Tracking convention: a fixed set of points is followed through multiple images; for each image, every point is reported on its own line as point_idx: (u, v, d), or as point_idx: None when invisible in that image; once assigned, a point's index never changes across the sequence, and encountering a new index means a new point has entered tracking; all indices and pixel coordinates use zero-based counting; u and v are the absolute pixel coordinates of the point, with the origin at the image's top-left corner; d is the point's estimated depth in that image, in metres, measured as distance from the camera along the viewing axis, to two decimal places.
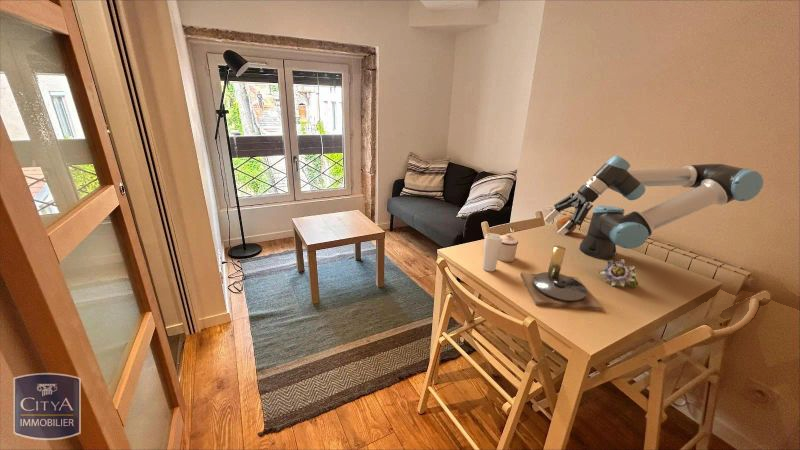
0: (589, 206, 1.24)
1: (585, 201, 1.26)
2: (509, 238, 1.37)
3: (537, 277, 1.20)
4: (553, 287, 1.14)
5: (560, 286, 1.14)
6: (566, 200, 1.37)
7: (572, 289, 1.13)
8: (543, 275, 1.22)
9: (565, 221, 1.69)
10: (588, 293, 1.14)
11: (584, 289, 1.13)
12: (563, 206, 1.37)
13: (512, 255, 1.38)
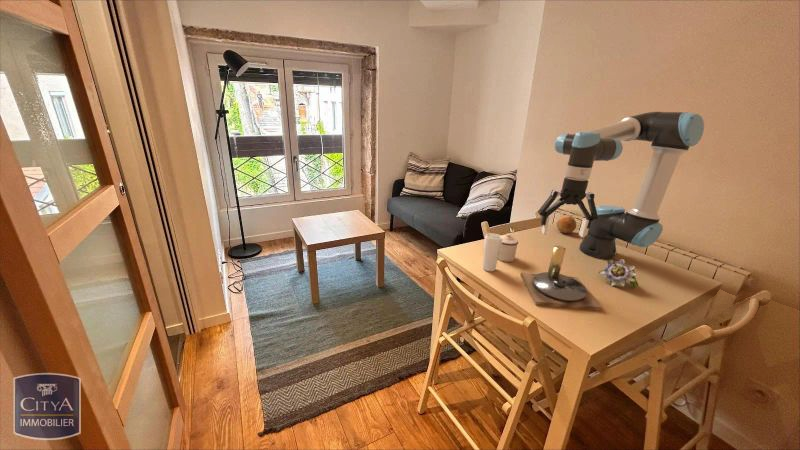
0: None
1: (585, 194, 1.09)
2: (509, 238, 1.37)
3: (537, 277, 1.20)
4: (553, 287, 1.14)
5: (560, 286, 1.14)
6: None
7: (572, 289, 1.13)
8: (543, 275, 1.22)
9: (565, 221, 1.69)
10: (588, 293, 1.14)
11: (584, 289, 1.13)
12: None
13: (512, 255, 1.38)
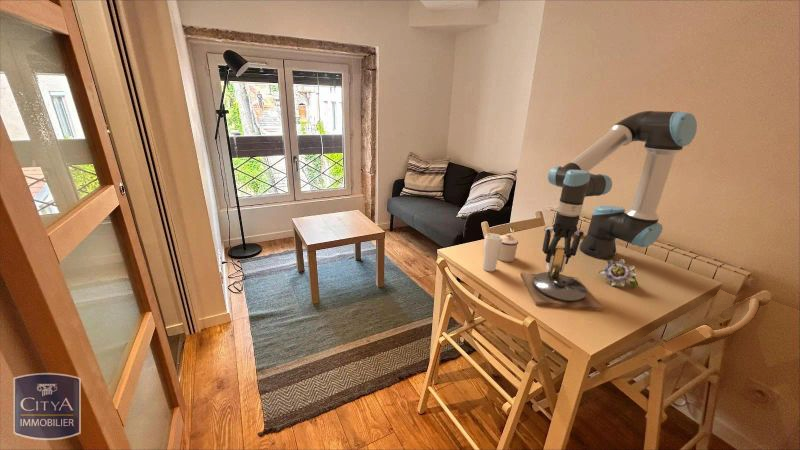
0: None
1: (577, 229, 1.14)
2: (509, 238, 1.37)
3: (537, 277, 1.20)
4: (553, 287, 1.14)
5: (560, 286, 1.14)
6: None
7: (572, 289, 1.13)
8: (543, 275, 1.22)
9: None
10: (588, 293, 1.14)
11: (584, 289, 1.13)
12: None
13: (512, 255, 1.38)
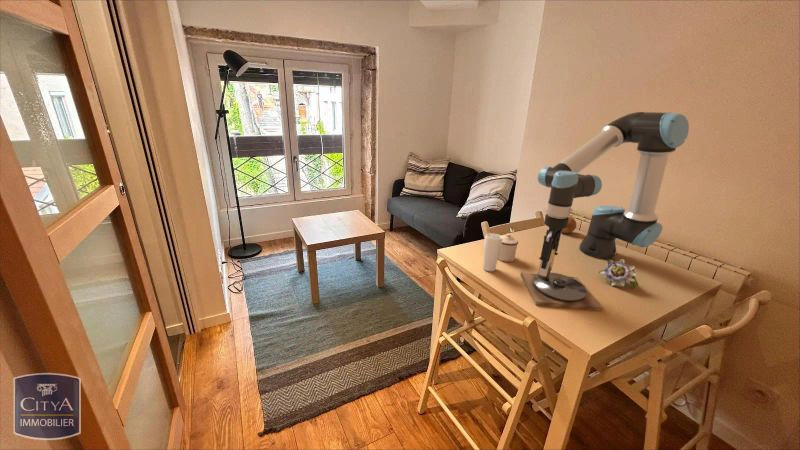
0: None
1: None
2: (509, 238, 1.37)
3: (538, 284, 1.15)
4: (561, 290, 1.12)
5: (564, 286, 1.14)
6: None
7: (571, 285, 1.16)
8: (538, 280, 1.18)
9: None
10: (588, 293, 1.14)
11: (575, 280, 1.19)
12: None
13: (512, 255, 1.38)
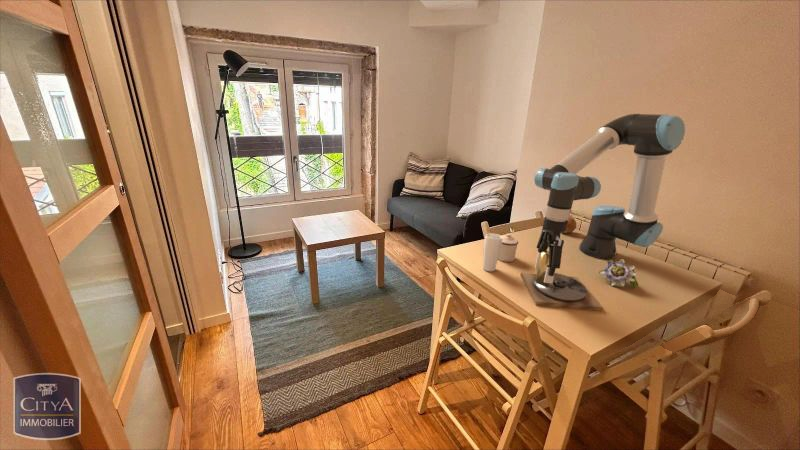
0: None
1: None
2: (509, 238, 1.37)
3: (551, 292, 1.11)
4: (568, 289, 1.13)
5: (566, 284, 1.15)
6: None
7: (564, 280, 1.19)
8: (544, 287, 1.14)
9: None
10: (588, 293, 1.14)
11: (559, 274, 1.23)
12: None
13: (512, 255, 1.38)
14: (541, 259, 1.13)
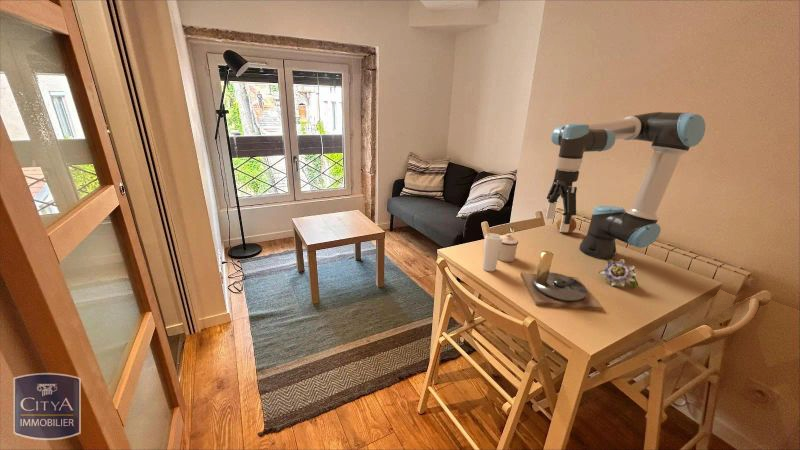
0: None
1: None
2: (509, 238, 1.37)
3: (551, 292, 1.11)
4: (568, 289, 1.13)
5: (566, 284, 1.15)
6: None
7: (564, 280, 1.19)
8: (544, 287, 1.14)
9: None
10: (588, 293, 1.14)
11: (559, 274, 1.23)
12: None
13: (512, 255, 1.38)
14: (541, 259, 1.13)
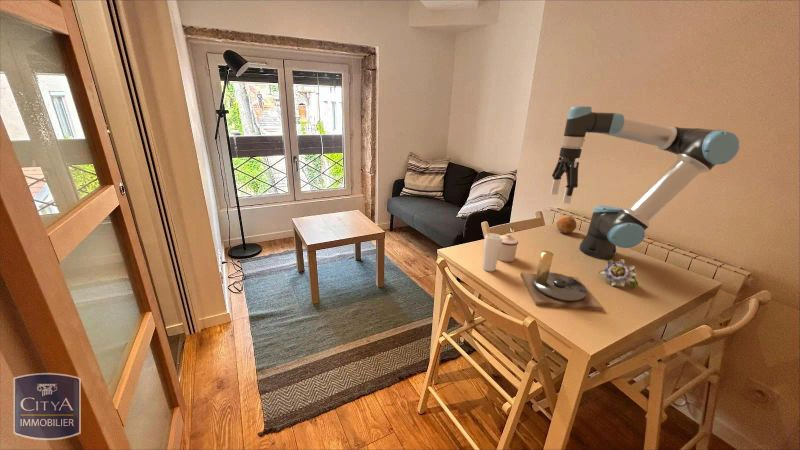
0: None
1: None
2: (509, 238, 1.37)
3: (551, 292, 1.11)
4: (568, 289, 1.13)
5: (566, 284, 1.15)
6: None
7: (564, 280, 1.19)
8: (544, 287, 1.14)
9: (565, 221, 1.69)
10: (588, 293, 1.14)
11: (559, 274, 1.23)
12: None
13: (512, 255, 1.38)
14: (541, 259, 1.13)
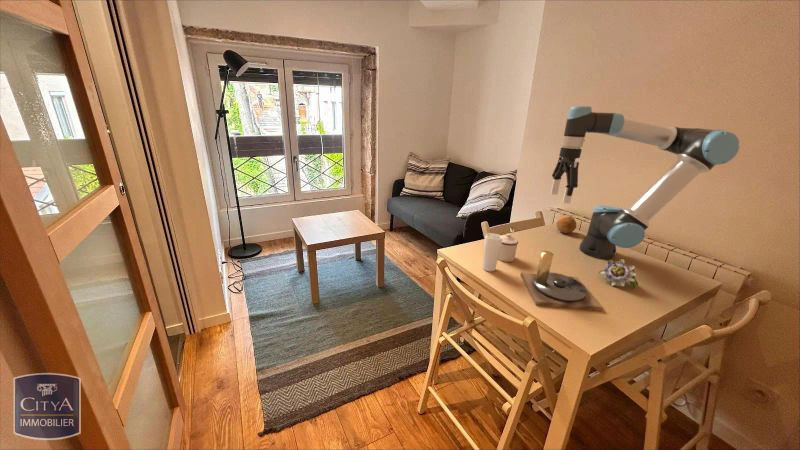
0: None
1: None
2: (509, 238, 1.37)
3: (551, 292, 1.11)
4: (568, 289, 1.13)
5: (566, 284, 1.15)
6: None
7: (564, 280, 1.19)
8: (544, 287, 1.14)
9: (565, 221, 1.69)
10: (588, 293, 1.14)
11: (559, 274, 1.23)
12: None
13: (512, 255, 1.38)
14: (541, 259, 1.13)
